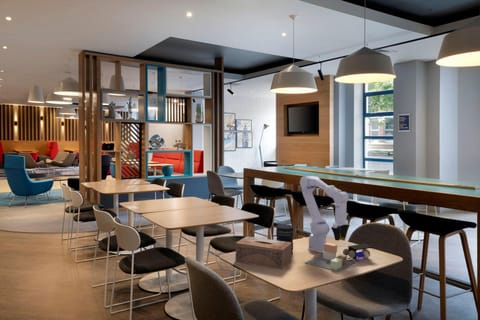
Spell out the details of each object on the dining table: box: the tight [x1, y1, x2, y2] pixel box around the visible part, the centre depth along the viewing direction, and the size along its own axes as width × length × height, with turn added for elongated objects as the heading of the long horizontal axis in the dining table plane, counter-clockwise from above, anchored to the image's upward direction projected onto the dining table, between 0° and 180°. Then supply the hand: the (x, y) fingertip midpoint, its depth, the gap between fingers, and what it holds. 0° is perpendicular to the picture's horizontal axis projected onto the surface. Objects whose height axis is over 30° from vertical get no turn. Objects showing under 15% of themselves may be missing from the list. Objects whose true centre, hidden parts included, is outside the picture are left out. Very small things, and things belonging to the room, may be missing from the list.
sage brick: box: [330, 258, 342, 270], centre depth 189 cm, size 6×3×4 cm, turn 140°
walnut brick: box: [336, 254, 348, 266], centre depth 195 cm, size 6×3×4 cm, turn 140°
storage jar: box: [275, 223, 295, 255], centre depth 213 cm, size 10×10×15 cm
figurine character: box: [342, 243, 373, 261], centre depth 204 cm, size 7×8×15 cm
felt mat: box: [304, 253, 356, 273], centre depth 198 cm, size 19×20×1 cm
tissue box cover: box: [234, 236, 292, 270], centre depth 198 cm, size 26×14×10 cm, turn 65°
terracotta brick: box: [324, 242, 338, 254], centre depth 202 cm, size 6×3×4 cm, turn 50°
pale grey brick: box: [322, 251, 337, 260], centre depth 203 cm, size 6×3×4 cm, turn 50°
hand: (340, 238), depth 205 cm, fingers open, 7 cm apart
